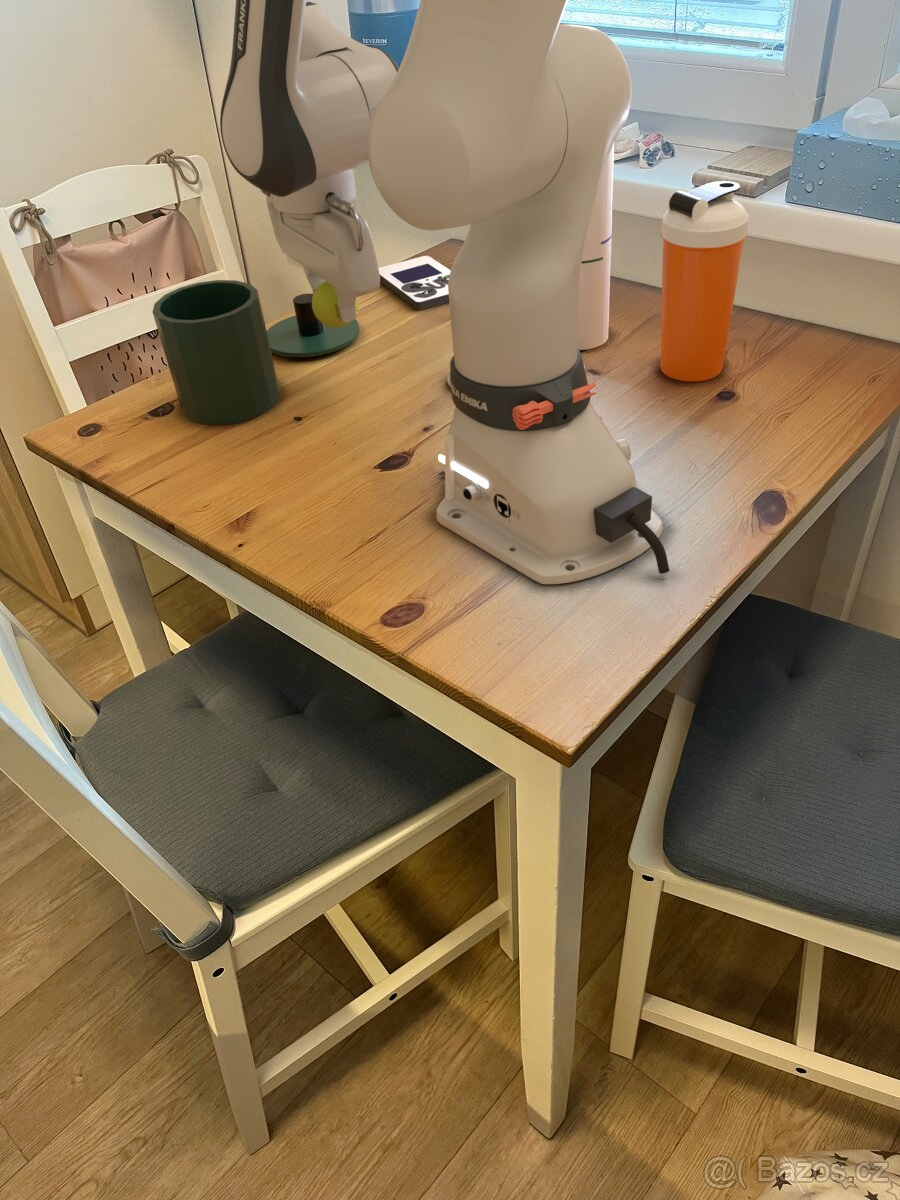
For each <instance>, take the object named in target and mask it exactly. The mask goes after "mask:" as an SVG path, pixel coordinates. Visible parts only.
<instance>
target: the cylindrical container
mask: <svg viewBox="0 0 900 1200" xmlns="http://www.w3.org/2000/svg"><path fill="white" fill-rule="evenodd" d="M614 162H615V143H614V144H613V146H612V148H611V150H610V152H609V155H608V157H607V160H606V163H605V166H604V169H603V172H602V176H601V180H600V183H599V187H598V191H597V195H596V199H595V203H594V207H593V211H592V215H591V219H590V223H589V227H588V231H587V235H586V240H585V245H584V250H583V255H582V261H581V268H580V277H579V301H578V343H577V348H578V350H579V351H584V350H591V349H595V348H598V347H601V346H603V345H604V344H605V343H606V342H607V341H608V339H609V323H610V293H611V291H610V288H611V263H612V262H611V260H612V259H611V258H612V234H613V232H612V230H613V198H614V197H613V196H614V194H613V193H614V166H615V165H614V164H615V163H614Z"/></svg>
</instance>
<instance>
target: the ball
mask: <svg viewBox="0 0 900 1200" xmlns="http://www.w3.org/2000/svg"><path fill="white" fill-rule="evenodd" d="M312 294H313V293H312ZM358 302H359V301H358V297H356V302H355V308H356V313H357V312H358V308H359V307H358V306H359V303H358ZM335 304H338V294H337V293H336V292H335V288H334V286H333V285H331V284H330V283H328V282H327V281H326V282H324V283H322V284H321V285H319V286H318V287H317V289H316V290H315V292H314V294H313V297H312V308H313V312H314V314H315V316H316V317H317V319H318V320H319V321H320V322H321V323H323V324H324V325H326V326H329V327H333V328H338V327H343V326H345V325H347V324H348V323H350V322H351V321H349V322H343V321H342V320H340V319H339V318H338V317H337V312H336V308H335Z"/></svg>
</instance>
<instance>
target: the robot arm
mask: <svg viewBox="0 0 900 1200" xmlns="http://www.w3.org/2000/svg"><path fill="white" fill-rule="evenodd" d="M568 1H569V0H419V5H418V9H417V12H416V16H415V19H414V24H413V26H412V27H413V28H412V31H411V33H410V37H409V41H408V43H407V47H406V49H405V52H404V55H403V58H402V61H401V63H400V65H399V64H398V63H397V61H395V60H394V58H393V57H392V56H391V55H389V54H388V53H387V52H386V51H384V50H383V49H381V48H380V47H377V46H368V45H366V44H363V43H361V42H359V41H357V40H356V39H353V38H352V37H350V36H349V35H347V34H345V33H343V32H342V31H341V30H340V29H338V28H337V27H336V26H335V25H334V24H333V23H332V22H331V21H330V18H329V16H328V14H327V13H326V11H325V9H324V8H323V7H322V6H321V5H320V4H318V3H317V2H312V1H307V0H235V8H234V24H233V34H232V36H233V38H232V48H231V59H230V67H229V71H228V77H227V81H226V85H225V88H224V93H223V96H222V102H221V107H220V115H219V117H220V118H219V127H220V128H219V129H220V136H221V141H222V145H223V148H224V152H225V154H226V156H227V159H228V161H229V163H230V164H231V166H232V168H233V169H234V170H235V171H236V173H238V175H240V176H241V177H242V178H243V179H244V180H245V181H247V183H249V184H251V185H252V186H254V187H255V188H257V189H259V191H260V192H261V193H262V194H263V195H265V201H266V206H267V210H268V215H269V218H270V222H271V226H272V229H273V233H274V236H275V239H276V242H277V244H278V246H279V248H280V250H281V252H282V253H283V254H284V255H286V256H287V257H289V258H291V259H292V260H293V261H295V262H297V264H300V266H302V268H303V272H304V275H305V276H306V279H307V281H308V283H309V285H310V288H311V291H312V294H314V292H315V290H316V289H317V287H318V286H319V285H321V284H322V283H324V282H326V281H327V282H328V283H330V284H331V285H333V286H334V288H335V292H336V293H337V294H338V304H335V308H336V312H337V317H338V318H339V319H340V320H342V321H343V322H349V321H352V320H355V319H356V320H357V312H356V308H355V302H356V297H357V298H359V297H363V296H366V295H369V294H372V293H374V292H377V291H378V290H379V287H380V285H381V282H380V274H379V269H378V268H379V263H378V258H377V255H376V249H375V245H374V241H373V237H372V233H371V229H370V226H369V224H368V222H367V221H366V219H365V217H364V216H362V215H361V214H359V213H358V212H356V211H355V207H354V205H353V203H352V202H353V201H354V200H355V199H356V198H357V188H356V182H355V175H354V169H355V168H357V167H359V166H360V165H363V164H367V163H368V165H369V169H370V174H371V177H372V179H373V183H374V184H375V186H376V189H377V190H378V192H379V194H380V196H381V197H382V200H383V201H384V202H385V203H386V204H387V206H388V208H390V209H391V211H392V212H393V213H394V214H395V215H396V216H397V217H398V218H400V219H401V220H402V221H404V222H405V223H406V224H409V225H410V226H412V227H415V228H416V229H420V230H423V231H440V230H447V229H453V228H459V227H464V226H469V229H468V231H467V234H466V237H465V239H464V242H463V244H462V246H461V247H460V249H459V250H458V253H457V254H456V256H455V259H454V261H453V262H452V265H451V268H450V270H451V272H450V276H449V282H448V292H449V302H448V304H449V313H450V314H449V315H450V326H451V327H450V328H451V340H452V350H453V351H452V352H453V354H452V357H451V359H450V363H449V369H450V370H449V374H450V376H449V377H450V386H449V387H450V390H451V400H452V402H453V404H454V406H455V410H454V413H453V417H452V420H451V424H450V426H449V429H448V431H447V434H446V437H445V440H444V455H443V454H442V453H440V454H438V455H437V456H438V462H440V463H442V464H444V494H445V495H444V498H443V499H442V500H441V501H440V503H439V504H438V506H437V507H436V521H437V522H438V524H440V525H442V526H444V527H445V528H446V529H448V530H450V531H452V532H453V533H455V534H456V535H458V536H460V537H462V538H463V539H465V540H466V541H468V542H469V543H472V544H473V545H474V546H476V547H478V548H479V549H481V550H483V551H485V552H487V553H488V554H490V555H491V556H493V557H495V558H496V559H498V560H499V561H501V562H503V563H505V564H506V565H508V566H510V567H511V568H513V569H515V570H516V571H518V572H519V573H521V574H523V575H524V576H526V577H528V578H530V579H531V580H533V581H535V582H536V583H539V584H542V585H560V584H567V583H569V584H570V583H574V582H578V581H582V580H586V579H590V578H593V577H596V576H598V575H601V574H604V573H606V572H608V571H611V570H613V569H616V568H618V567H619V566H622V565H624V564H626V563H628V562H630V561H632V560H634V559H635V558H638V557H639V556H640V555H642V554H643V553H644V552H646V551H647V550H649V549H650V548H651V550H652V552H653V554H654V557H655V560H656V566H657V570H658V574H660V575H664V574H667V573H669V572H670V571H671V570H670V565H669V561H668V556H667V552H666V549H665V547H664V545H663V543H662V541H661V540H660V539H659V538H660V537H661V536H662V533H663V531H664V524H663V523H664V522H663V520H662V519H661V517H660V516H659V515H658V514H657V513H656V512H655V511H654V509H652V505H653V496H652V495H650V494H648V493H647V492H646V491H643V490H642V489H640V488H638V486H637V480H636V474H635V471H634V469H633V467H632V465H631V463H630V462H629V461H630V460H631V457H632V452H631V447H630V444H629V442H628V441H627V440H626V439H625V438H617V439H615V438H614V437H613V436H612V433H611V432H610V431H609V429H608V428H607V426H606V424H605V423H604V422H603V419H602V415H601V413H600V412H599V411H597V410H596V409H595V408H594V406H593V404H592V402H591V397H593V396H595V395H596V394H597V392H596V391H591V390H592V389H593V388H595V387H596V386H597V383H595V382H592V383H589V382H588V378H587V368H586V366H585V364H584V360H583V356H582V353H581V350H578V348H577V343H578V301H579V277H580V268H581V261H582V255H583V250H584V245H585V240H586V235H587V231H588V227H589V223H590V219H591V215H592V211H593V207H594V203H595V199H596V195H597V191H598V187H599V183H600V180H601V176H602V172H603V169H604V166H605V163H606V160H607V157H608V155H609V152H610V150H611V148H612V146H613V144H614V145H615V142H616V141H617V138H618V136H619V134H620V132H621V131H622V130H623V128H624V126H625V124H626V122H627V119H628V116H629V112H630V110H631V103H632V90H633V89H632V80H631V74H630V70H629V66H628V63H627V61H626V58H625V56H624V54H623V52H622V51H621V49H620V48H619V46H618V45H617V43H616V42H614V40H613V39H612V38H611V37H609V36H608V34H606V33H604V32H603V31H602V30H599V29H597V28H595V27H592V26H588V25H581V24H572V23H571V24H569V23H561V22H562V18H563V15H564V12H565V10H566V7H567V4H568Z"/></svg>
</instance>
